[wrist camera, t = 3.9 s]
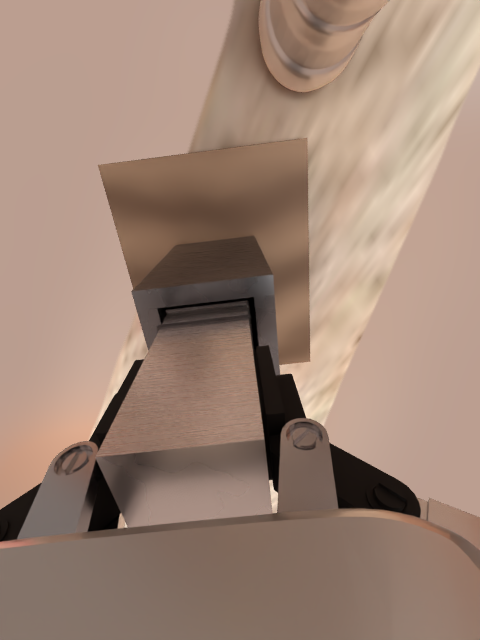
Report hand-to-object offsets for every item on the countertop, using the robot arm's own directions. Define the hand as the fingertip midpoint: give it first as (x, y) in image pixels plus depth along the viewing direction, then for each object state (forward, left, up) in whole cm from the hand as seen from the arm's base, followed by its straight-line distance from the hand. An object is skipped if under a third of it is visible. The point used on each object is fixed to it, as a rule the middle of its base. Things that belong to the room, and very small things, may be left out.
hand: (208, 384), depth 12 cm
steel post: (0, 0, -15) cm, 15 cm away
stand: (0, 0, -17) cm, 17 cm away
